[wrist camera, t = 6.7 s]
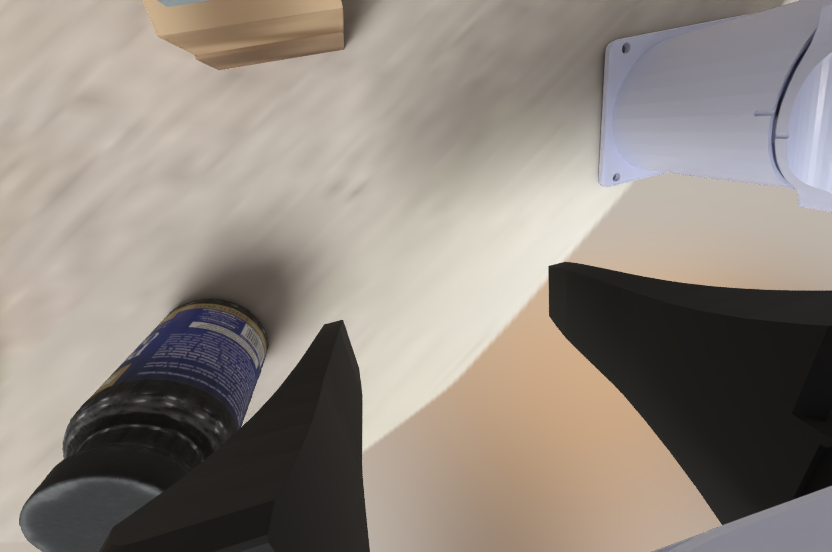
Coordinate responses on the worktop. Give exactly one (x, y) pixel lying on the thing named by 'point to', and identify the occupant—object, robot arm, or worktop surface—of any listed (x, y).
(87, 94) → the worktop surface
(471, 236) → the worktop surface
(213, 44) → the slab upper
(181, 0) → the cube
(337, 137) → the worktop surface
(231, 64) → the slab lower
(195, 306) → the pill bottle
